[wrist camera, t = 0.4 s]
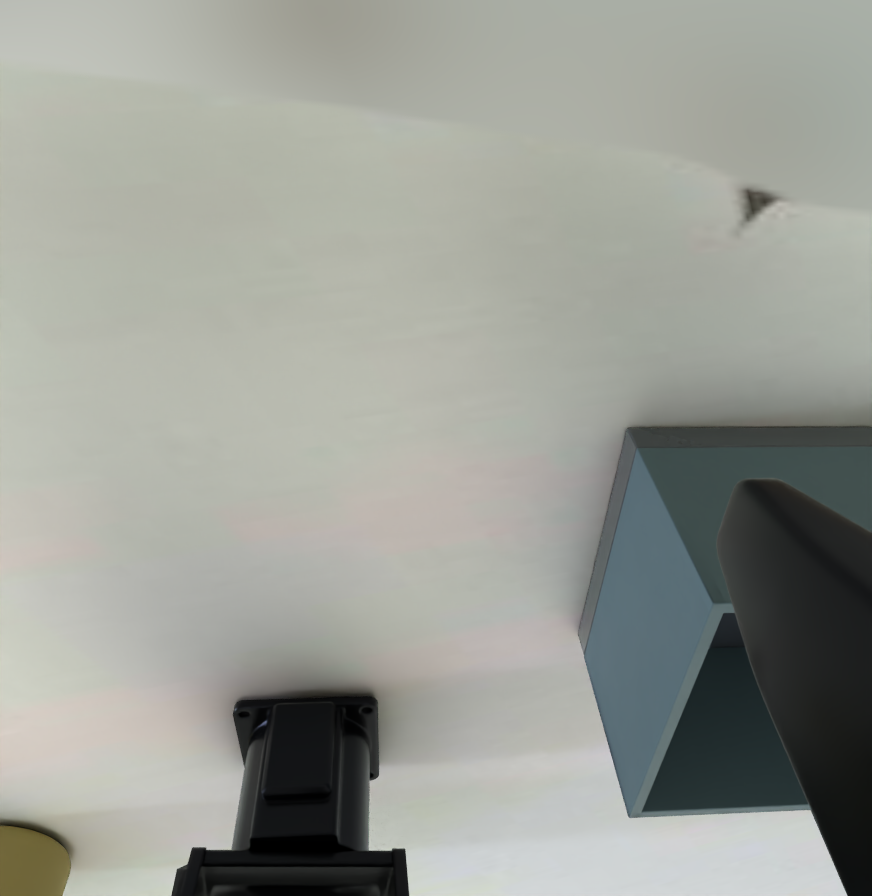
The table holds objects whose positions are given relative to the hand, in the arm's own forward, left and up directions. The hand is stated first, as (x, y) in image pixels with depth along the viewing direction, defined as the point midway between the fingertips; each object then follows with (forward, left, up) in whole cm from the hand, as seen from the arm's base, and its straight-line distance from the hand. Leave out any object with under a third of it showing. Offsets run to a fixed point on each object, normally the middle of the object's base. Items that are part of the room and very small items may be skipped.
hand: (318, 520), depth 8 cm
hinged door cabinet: (-14, -14, -14) cm, 24 cm away
